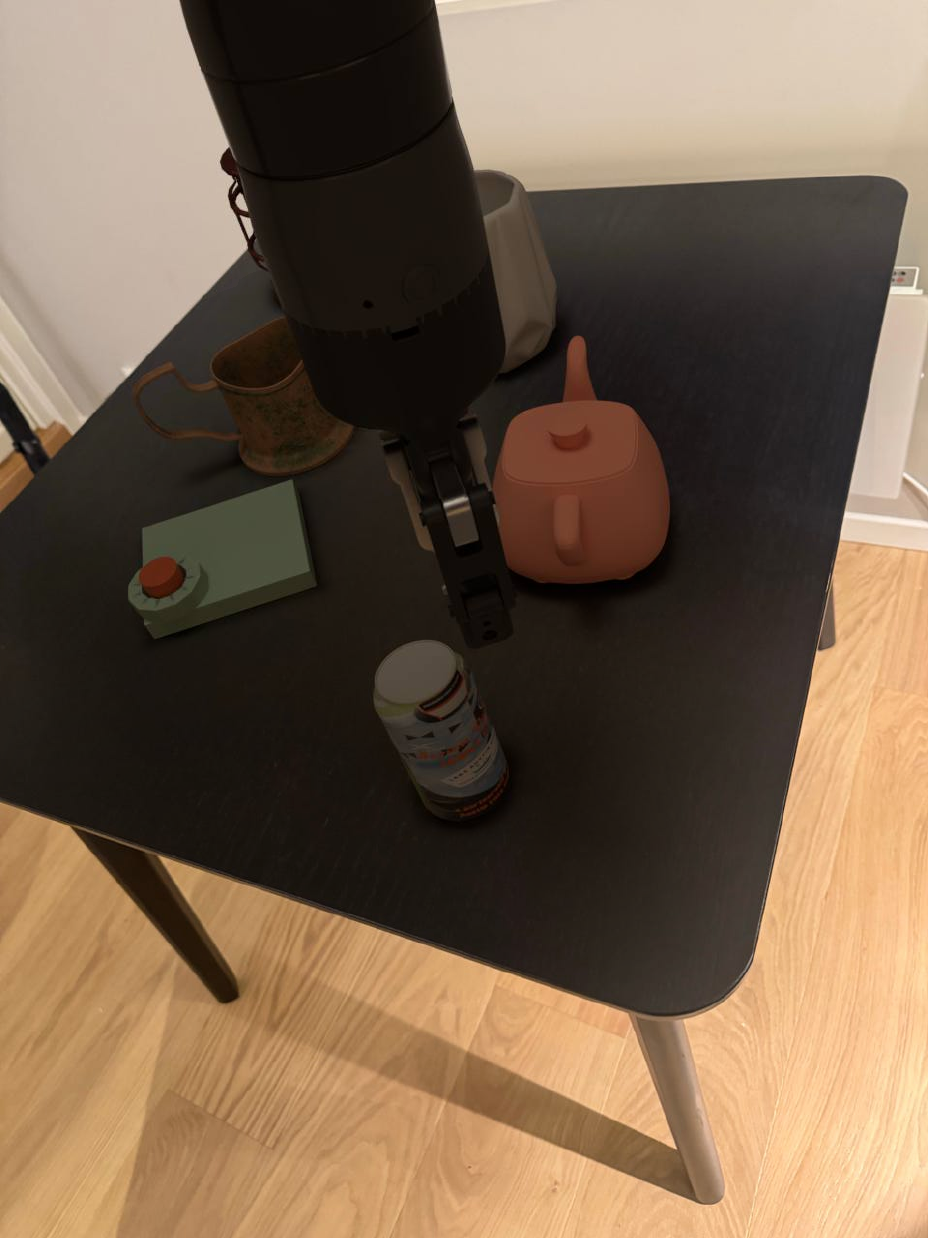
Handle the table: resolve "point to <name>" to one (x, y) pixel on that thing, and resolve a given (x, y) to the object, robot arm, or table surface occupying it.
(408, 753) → the beverage can
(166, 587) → the button
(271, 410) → the mug
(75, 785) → the table surface
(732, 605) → the table surface
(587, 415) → the teapot
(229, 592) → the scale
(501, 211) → the vase
